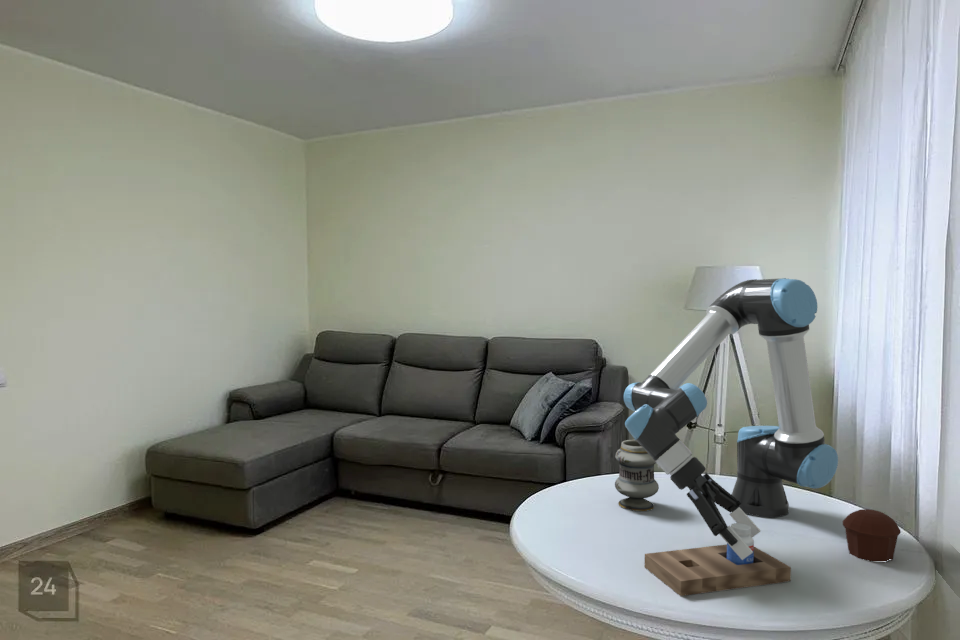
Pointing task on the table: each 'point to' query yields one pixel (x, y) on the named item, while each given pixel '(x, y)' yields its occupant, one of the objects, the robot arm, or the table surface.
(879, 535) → the muffin
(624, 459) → the apothecary jar
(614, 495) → the table surface
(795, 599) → the table surface
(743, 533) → the pill bottle
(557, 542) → the table surface
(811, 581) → the table surface
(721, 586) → the socket board
